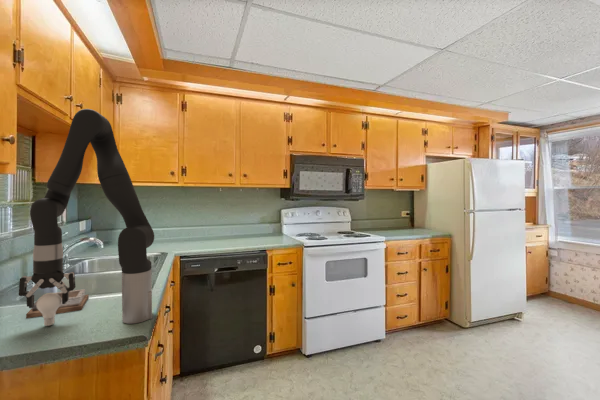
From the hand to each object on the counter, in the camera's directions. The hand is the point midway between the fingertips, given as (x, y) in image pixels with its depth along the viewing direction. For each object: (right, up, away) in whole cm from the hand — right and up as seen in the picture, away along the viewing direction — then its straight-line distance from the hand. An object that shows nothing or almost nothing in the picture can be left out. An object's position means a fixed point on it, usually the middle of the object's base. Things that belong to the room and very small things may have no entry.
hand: (48, 305), depth 97 cm
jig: (-9, -6, +15) cm, 19 cm away
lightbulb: (0, -7, 0) cm, 7 cm away
